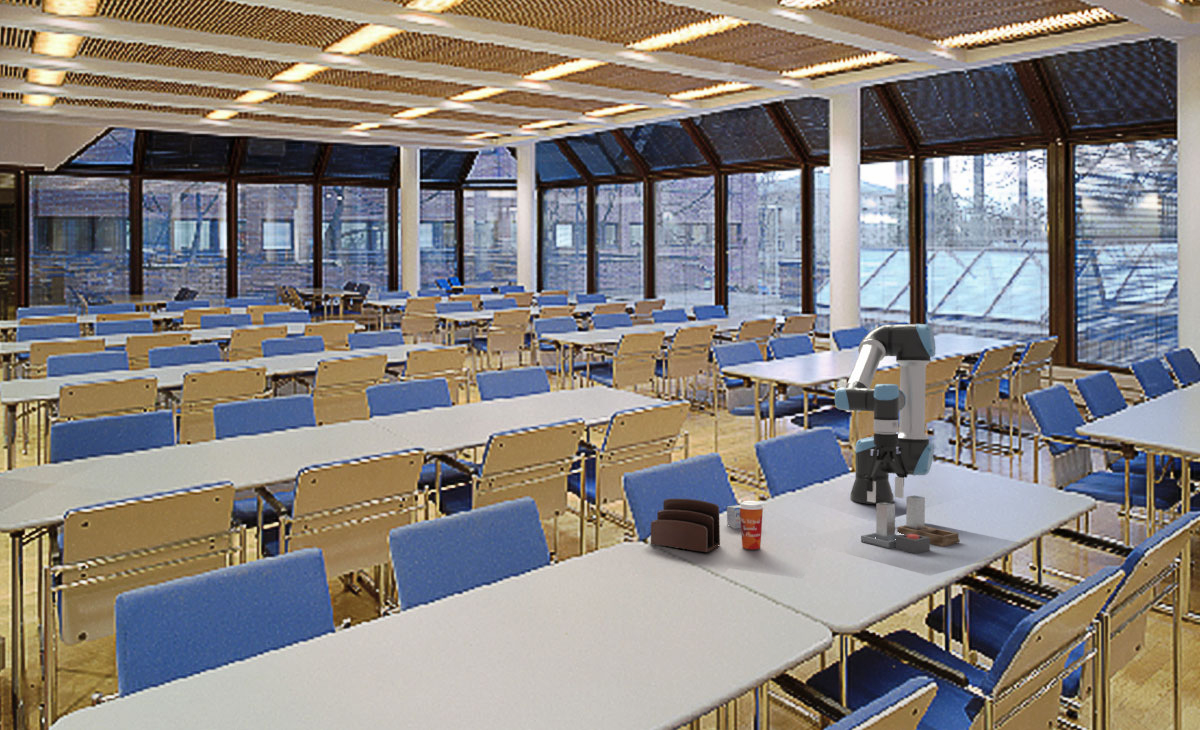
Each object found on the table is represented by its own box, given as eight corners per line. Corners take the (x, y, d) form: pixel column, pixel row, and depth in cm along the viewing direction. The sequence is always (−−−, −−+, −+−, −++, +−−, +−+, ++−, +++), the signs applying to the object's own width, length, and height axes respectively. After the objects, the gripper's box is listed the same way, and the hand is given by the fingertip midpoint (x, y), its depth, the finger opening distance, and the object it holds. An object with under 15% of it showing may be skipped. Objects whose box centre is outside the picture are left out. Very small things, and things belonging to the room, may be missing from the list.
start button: (904, 539, 265) (904, 535, 265) (911, 538, 267) (911, 533, 267) (914, 542, 262) (914, 537, 262) (921, 540, 264) (921, 535, 264)
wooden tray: (896, 536, 282) (896, 527, 282) (913, 532, 287) (913, 523, 287) (942, 546, 268) (942, 537, 268) (959, 542, 273) (959, 533, 273)
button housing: (895, 549, 265) (896, 536, 265) (910, 545, 269) (910, 533, 269) (915, 553, 260) (915, 540, 259) (929, 550, 263) (929, 537, 263)
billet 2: (906, 533, 282) (906, 496, 281) (913, 531, 284) (914, 495, 283) (916, 535, 278) (917, 498, 278) (924, 533, 280) (924, 497, 280)
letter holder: (664, 538, 282) (664, 495, 281) (720, 546, 271) (720, 501, 271) (650, 545, 273) (649, 501, 273) (707, 553, 263) (707, 507, 262)
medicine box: (734, 533, 287) (734, 508, 286) (726, 531, 291) (726, 505, 290) (753, 531, 290) (753, 505, 290) (745, 528, 294) (745, 503, 294)
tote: (860, 541, 275) (860, 535, 275) (882, 537, 281) (882, 531, 281) (888, 548, 266) (888, 542, 266) (910, 543, 272) (910, 537, 272)
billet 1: (876, 541, 274) (876, 503, 273) (884, 539, 276) (884, 502, 276) (886, 543, 271) (886, 505, 270) (894, 541, 273) (895, 504, 272)
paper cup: (736, 549, 267) (736, 504, 266) (741, 543, 274) (741, 499, 273) (761, 551, 264) (761, 506, 263) (766, 545, 271) (766, 501, 271)
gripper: (869, 436, 262) (869, 505, 262) (920, 431, 276) (920, 497, 276) (850, 434, 268) (849, 501, 269) (901, 429, 282) (900, 494, 283)
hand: (885, 499), depth 272 cm, fingers open, 13 cm apart
